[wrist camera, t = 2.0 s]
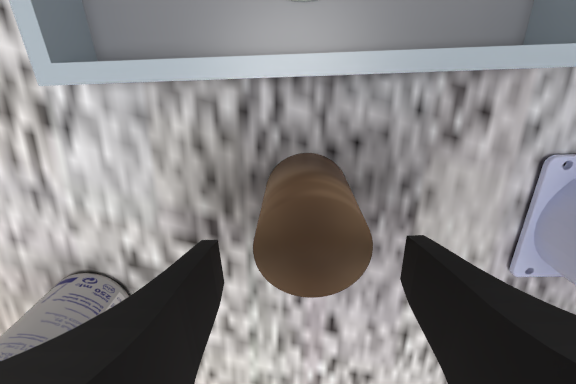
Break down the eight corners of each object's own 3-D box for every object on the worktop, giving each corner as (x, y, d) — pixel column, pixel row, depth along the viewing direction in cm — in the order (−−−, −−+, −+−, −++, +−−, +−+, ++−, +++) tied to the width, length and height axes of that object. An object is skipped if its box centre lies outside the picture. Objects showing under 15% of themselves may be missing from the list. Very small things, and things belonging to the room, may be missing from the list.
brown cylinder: (349, 151, 16) (377, 195, 11) (345, 226, 18) (368, 296, 13) (263, 154, 16) (248, 198, 11) (268, 228, 18) (257, 298, 13)
